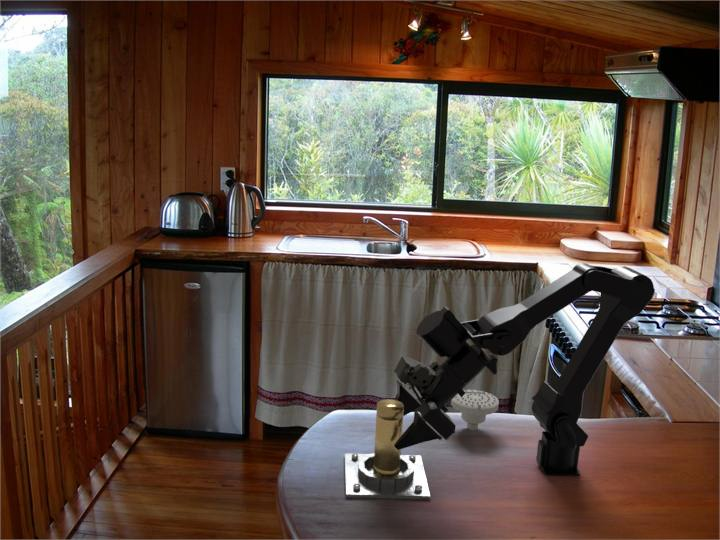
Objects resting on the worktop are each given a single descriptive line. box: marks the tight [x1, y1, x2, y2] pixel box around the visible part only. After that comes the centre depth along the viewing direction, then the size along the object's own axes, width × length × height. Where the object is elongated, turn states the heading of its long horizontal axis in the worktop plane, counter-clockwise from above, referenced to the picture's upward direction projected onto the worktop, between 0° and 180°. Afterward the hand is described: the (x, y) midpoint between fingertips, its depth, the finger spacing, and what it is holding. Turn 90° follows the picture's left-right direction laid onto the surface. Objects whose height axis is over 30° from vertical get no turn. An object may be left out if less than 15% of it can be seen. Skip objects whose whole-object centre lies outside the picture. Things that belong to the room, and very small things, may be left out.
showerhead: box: [450, 388, 500, 431], centre depth 153 cm, size 9×7×10 cm
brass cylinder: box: [373, 399, 404, 477], centre depth 132 cm, size 5×5×13 cm
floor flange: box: [344, 452, 431, 500], centre depth 134 cm, size 14×14×2 cm
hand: (389, 435), depth 132 cm, fingers open, 9 cm apart
